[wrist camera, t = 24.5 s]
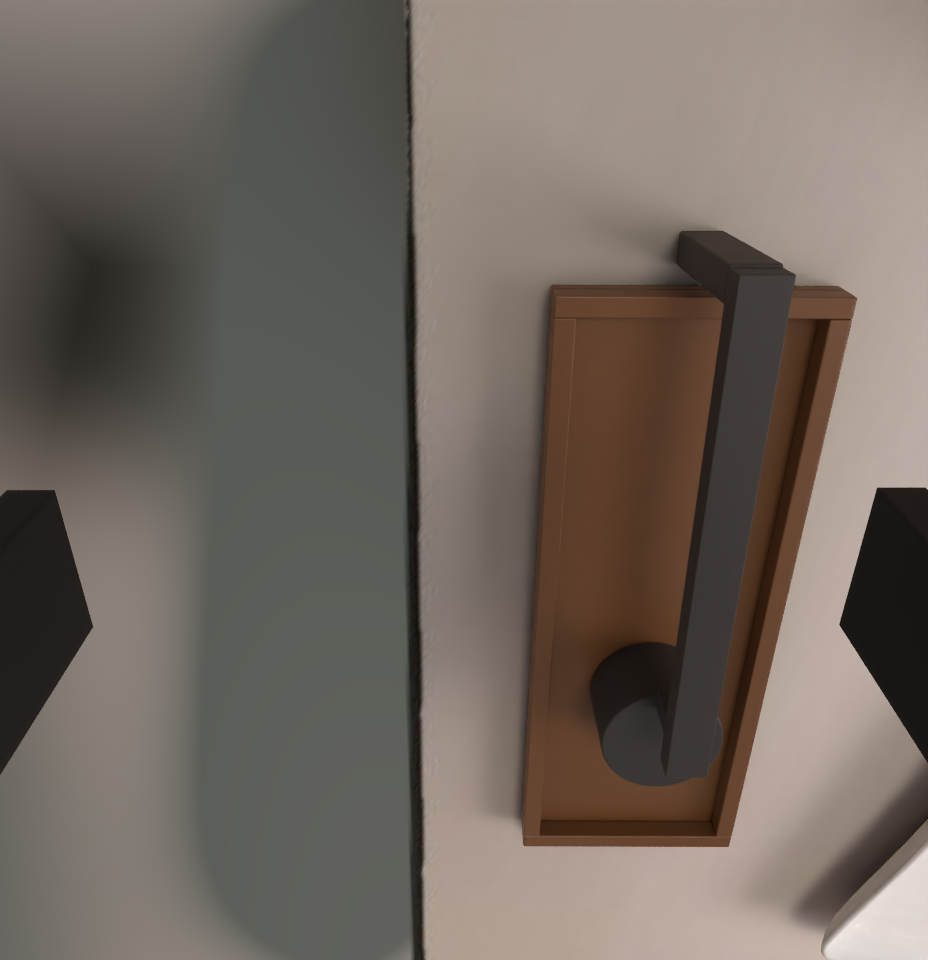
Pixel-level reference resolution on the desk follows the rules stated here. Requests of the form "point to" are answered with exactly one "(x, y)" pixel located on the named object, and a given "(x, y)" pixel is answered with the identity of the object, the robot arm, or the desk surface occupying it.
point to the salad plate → (886, 910)
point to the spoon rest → (655, 541)
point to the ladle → (704, 533)
